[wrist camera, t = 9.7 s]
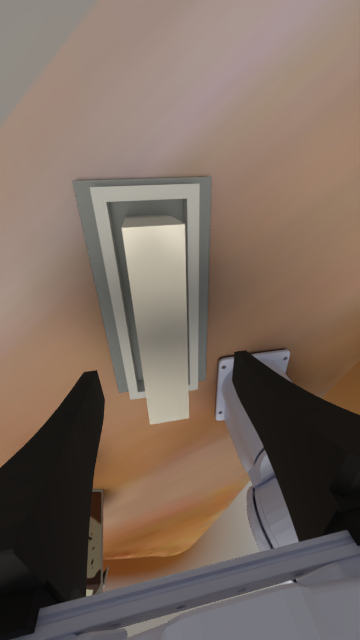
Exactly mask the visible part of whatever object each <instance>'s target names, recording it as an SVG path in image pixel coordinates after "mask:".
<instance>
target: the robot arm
mask: <svg viewBox="0 0 360 640" xmlns="http://www.w3.org/2000/svg"><path fill="white" fill-rule="evenodd" d="M284 357H285V358H284ZM289 357H290V352H289V351H288V350H287V349H285V350H277V351H270V352H263V353H256V354H250V353H248V352H247V351H238V352H235V354H234V357H226V358H221V359H220V360H219V362H218V378H217V394H216V410H215V418H216V420H218V421H220V420H225V423H226V425H227V428H228V431H229V433H230V436H231V438H232V441H233V443H234V446H235V448H236V451H237V453H238V456H239V459H240V461H241V463H242V465H243V467H244V469H245V470H246V472H247V473H248V475H249V477H250V480H251V482H252V484H253V485H252V486H251V487H250V488H249V489H248V491H247V514H248V520H249V524H250V527H251V530H252V533H253V536H254V538H255V541H256V543H257V545H258V547H259V549H260V551H261V552H259V553H255V554H251V555H247V556H243V557H239V558H235V559H231V560H227V561H223V562H219V563H216V564H212V565H208V566H204V567H200V568H196V569H192V570H188V571H184V572H180V573H177V574H173V575H169V576H165V577H161V578H157V579H153V580H149V581H145V582H142V583H137V584H134V585H130V586H126V587H122V588H118V589H114V590H110V591H106V592H102V593H98V594H94V595H91V596H87V597H86V584H87V561H88V542H89V526H90V512H91V499H92V488H93V477H94V469H95V463H96V458H97V452H98V447H99V441H100V436H101V431H102V425H103V419H104V404H105V399H104V395H103V391H102V388H101V384H100V380H99V376H98V373H97V370H96V371H89V372H84V373H83V374H82V376H81V377H80V378H79V380H78V381H77V383H76V384H75V386H74V387H73V388H72V390H71V391H70V392H69V394H68V395H67V397H66V398H65V399H64V400H63V402H62V403H61V404H60V406H59V407H58V408H57V410H56V411H55V412H54V413H53V414H52V416H51V417H50V418H49V419H48V420H47V422H46V423H45V424H44V425H43V426H42V427H41V428H40V430H39V431H38V432H37V433H36V434H35V435H34V436H33V437H32V438H31V439H30V440H29V441H28V442H27V443H26V444H25V445H24V446H23V447H22V448H21V449H20V450H19V451H18V452H17V453H16V454H15V455H14V456H13V457H12V458H11V459H9V460H8V461H7V462H6V463H5V464H4V465H3V466H2V467H1V468H0V640H360V415H358V414H355V413H353V412H350V411H348V410H346V409H343V408H341V407H338V406H336V405H334V404H332V403H330V402H327V401H325V400H323V399H321V398H319V397H317V396H315V395H313V394H311V393H310V392H308V391H306V390H304V389H302V388H300V387H299V386H297V385H295V384H294V383H293V382H292V381H291V380H290V379H289V377H288V376H287V375H286V374H285V373H286V369H287V365H288V361H289ZM222 366H224V367H222ZM279 583H283V584H284V585H279V586H276V587H272V588H269V589H265V590H261V591H258V592H255V593H251V594H247V595H244V596H240V597H237V598H233V599H229V600H226V601H222V602H219V603H215V604H211V605H208V606H204V607H201V608H197V609H194V610H192V611H189V612H186V613H183V614H180V615H179V616H177V617H175V618H173V619H171V620H170V621H168V622H167V623H165V624H163V625H160V626H157V627H155V628H152V629H149V630H147V631H144V632H142V633H139V634H136V635H134V636H131V637H128V638H127V631H126V630H125V629H118V628H122V627H125V626H129V625H132V624H135V623H140V622H143V621H147V620H150V619H154V618H157V617H161V616H164V615H168V614H172V613H175V612H179V611H183V610H186V609H190V608H193V607H197V606H201V605H204V604H208V603H211V602H215V601H219V600H222V599H226V598H229V597H233V596H237V595H240V594H244V593H247V592H251V591H254V590H258V589H261V588H265V587H269V586H272V585H276V584H279ZM114 629H115V630H114Z"/></svg>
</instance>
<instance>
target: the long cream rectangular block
mask: <svg viewBox="0 0 360 640" xmlns="http://www.w3.org/2000/svg"><path fill="white" fill-rule="evenodd" d="M122 234H123V241H124V248H125V255H126V262H127V269H128V275H129V282H130V289H131V296H132V303H133V310H134V317H135V324H136V331H137V337H138V344H139V351H140V358H141V365H142V372H143V379H144V386H145V393H146V399H147V406H148V413H149V420H150V425H151V424H157V423H163V422H169V421H175V420H181V419H187V418H189V395H188V347H187V299H186V251H185V224H184V223H182V222H181V221H179V220H178V219H176V218H175V217H173V216H172V215H170V214H155V215H135V216H125V219H124V222H123V225H122Z"/></svg>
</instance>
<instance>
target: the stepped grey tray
mask: <svg viewBox="0 0 360 640" xmlns="http://www.w3.org/2000/svg"><path fill="white" fill-rule="evenodd" d="M211 179H212V177H184V178H151V179H117V180H84V181H72V182H73V186H74V191H75V196H76V200H77V205H78V209H79V214H80V218H81V223H82V227H83V232H84V236H85V241H86V245H87V250H88V254H89V259H90V263H91V268H92V273H93V277H94V282H95V286H96V291H97V295H98V300H99V304H100V309H101V313H102V318H103V322H104V327H105V331H106V336H107V340H108V345H109V350H110V354H111V359H112V363H113V368H114V372H115V377H116V381H117V386H118V390H119V393H122V392H129V395H130V400H132V399H138V398H145V397H146V393H145V386H144V379H143V372H142V365H141V358H140V351H139V344H138V337H137V331H136V324H135V317H134V310H133V303H132V296H131V289H130V282H129V275H128V269H127V262H126V255H125V248H124V241H123V234H122V225H123V222H124V219H125V216H135V215H155V214H170V215H172V216H173V217H175V218H176V219H178V220H179V221H181V222H182V223H184V224H185V251H186V299H187V347H188V391H191V390H197V389H198V381H203V380H206V352H207V317H208V283H209V248H210V214H211Z"/></svg>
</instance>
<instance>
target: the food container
mask: <svg viewBox="0 0 360 640" xmlns="http://www.w3.org/2000/svg"><path fill="white" fill-rule="evenodd" d="M108 568H109V567H107V569H106V570H105V571H104V572H103V489H92V499H91V512H90V526H89V542H88V561H87V584H86V597H87V596H91V595H94V594H98V593H102V589H103V588H104V586H105V583H106V579H107V574H108Z"/></svg>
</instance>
